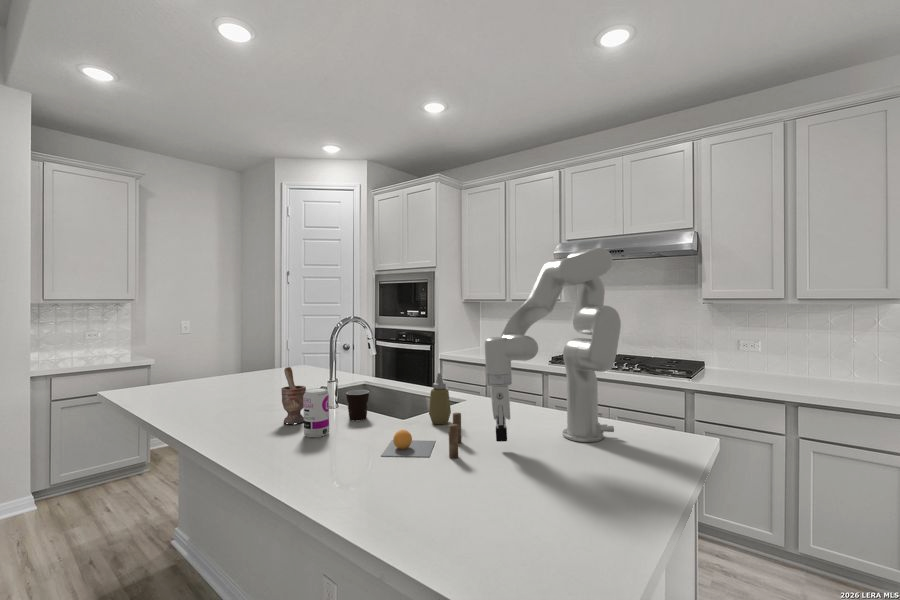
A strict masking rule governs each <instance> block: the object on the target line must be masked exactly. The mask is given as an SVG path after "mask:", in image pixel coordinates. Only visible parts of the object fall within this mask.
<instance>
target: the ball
mask: <svg viewBox="0 0 900 600" xmlns="http://www.w3.org/2000/svg"><path fill="white" fill-rule="evenodd" d="M392 440H393V442H394V445H395V446H396V447H397V448H399V449H406V448H408V447H409V446H410V445H411V442H412V440H413V437H412V435H411V432H409V431H408V430H406V429H401V430H398V431H397V432H395V434H394V436H393V439H392Z"/></svg>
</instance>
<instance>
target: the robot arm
mask: <svg viewBox="0 0 900 600" xmlns="http://www.w3.org/2000/svg"><path fill="white" fill-rule="evenodd" d="M613 261H614V259H613V256H612V254H611V252H610V251H609V250H607V249H605V248H603V247H593V248H587V249H581V250H577V251H574V252H571V253H570V254H568V256H566V257H565V258H557V259H552V260H549V261H546V262H545V263H544V264H543V266H542V267H541V269H540V271H539V274H538V276H537V278H536V279H535V282H534V284H533V286H532V288H531V291H530V292H529V294H528V296H527V298H526V300H525V301H524V303H523V304H521V305H520V306H519V308H518V309H517V310H516V311H515V312H514V313H513V314H512V315H511V317H510V318H509V320H508V321H507V323H506V324H505V326H504V329H503V331H502V333H501V334H500V336H494V337H493V336H492V337H488V338H486V339H485V341H484V355H485V357H484V358H485V359H484V360H485V381H486V386H489V387H490V397H491V398H490V399H491V408H492V409H491V410H492V414H493V419H494V421H495V422H496V425H495V438H496V439H495V441H496V442H507V441H508V431H507V430H508V427H507V425H506V424H507V423H506V420H508V421H510V419H511V399H510V388H509V386H511V385H512V384H513V377H512V361H522V362H525V361H531V360H532V359H534V358H535V357H536V356H537V354H538V353H539V345H538V342H537V341H536V340H535V339H534V338H533V337H531V336H529V335H526V333H527V332H528V330H529V329H530V328H531V326H533V324H535V323H537V322H538V321H541V320H542V319H544V318H545V317H547V316H549V315H550V314H551V313H552V312H553V311H554V308H555V306H556V304H557V302H558V299H559V297H560V295H561V293H562V291H563V289H564V287H571V286H576V290H577V291H576V292H577V294H576V300H575V307H574V312H573V318H572V327H573V329H574V330H575V332H577V333H578V334H581V335H587V336H588V335H589V336H591V338H581V337H576V338H572V339H570V340H568V341H567V342H566V343H565V345H564V347H563V351H562V355H563V356H562V357H563V364H564V365H565V375H566V412H567V413H566V415H567V416H566V418H567V419H566V423H567V426H566V428H564V429H563V430H562V436H563V438H565V439H567V440H570V441H573V442H580V443H594V442H600V441H602V440H603V439H604V433H606V432H607V433H614V432H615V429H614V428H615V426H613V425H608V424H601V423H600V422H599V405H598V404H599V403H598V402H599V401H598V400H599V399H598V396H599V395H598V390H599V389H598V387H599V386H598V385H599V384H598V378H597V374H596V372H599V373H601V372H602V373H603V372H607V371H608V370H610V369H611V368H612V367H613V365H614V364H615V360H616V357H617V352H618V347H619V340H620V334H621V327H622V323H621V321H622V320H621V318H620V314H619V312H618V311H617V310H616V308H614V307H612V306H609V305H604V304H605V295H606V293H605V286H604V284H603V281H602V279H601V277H602V276H604V275H606V274H607V273H609V271H610V270H611V268H612V266H613Z"/></svg>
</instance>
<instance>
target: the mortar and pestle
mask: <svg viewBox="0 0 900 600" xmlns="http://www.w3.org/2000/svg"><path fill="white" fill-rule="evenodd" d="M283 371H284V376H285V379H286V381H287V384H288V386H284V387H281V403H282V406H283V409H284V411H285V412H286V413H287V416H286V417H284V420H283V424H284V423H288V424H294V423H300V422H303V421H304V415H302V413H301V411H302V410H304V408H303V396H304V394H305V391H306V390H307V387H306V386H305V385H295V381H294V375H293V374H294V373H293V369H292V367H290V366H287V367H284V370H283ZM303 423H304V422H303ZM300 424H301V423H300Z"/></svg>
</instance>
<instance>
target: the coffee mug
mask: <svg viewBox="0 0 900 600" xmlns="http://www.w3.org/2000/svg"><path fill="white" fill-rule="evenodd" d="M345 395H346V404H347V409H348V418H349V421H352V420H354V421H353V422H357V421H356V420H360V421H364V420H366V419H367V416H368V406H369V397H370V391H369V390H366V389H356V390H349V391H347V392H346V393H345ZM363 419H364V420H363Z"/></svg>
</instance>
